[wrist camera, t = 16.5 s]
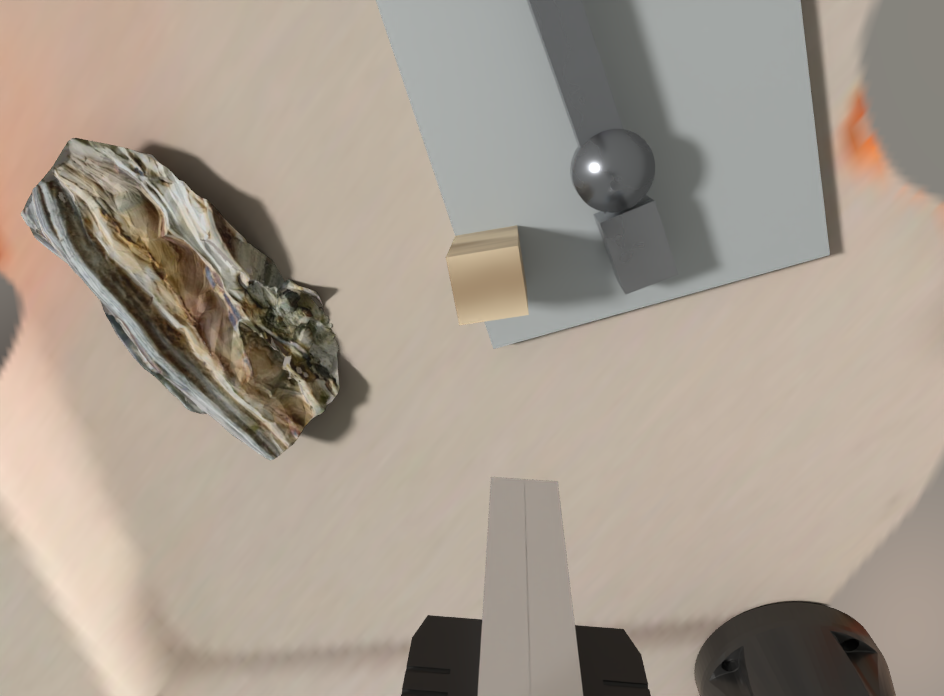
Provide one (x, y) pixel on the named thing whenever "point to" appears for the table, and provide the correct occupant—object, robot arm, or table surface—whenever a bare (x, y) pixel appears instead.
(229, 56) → the table surface
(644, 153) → the lever
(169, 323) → the rock
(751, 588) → the table surface
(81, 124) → the table surface
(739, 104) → the board
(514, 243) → the beech block
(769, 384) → the table surface
